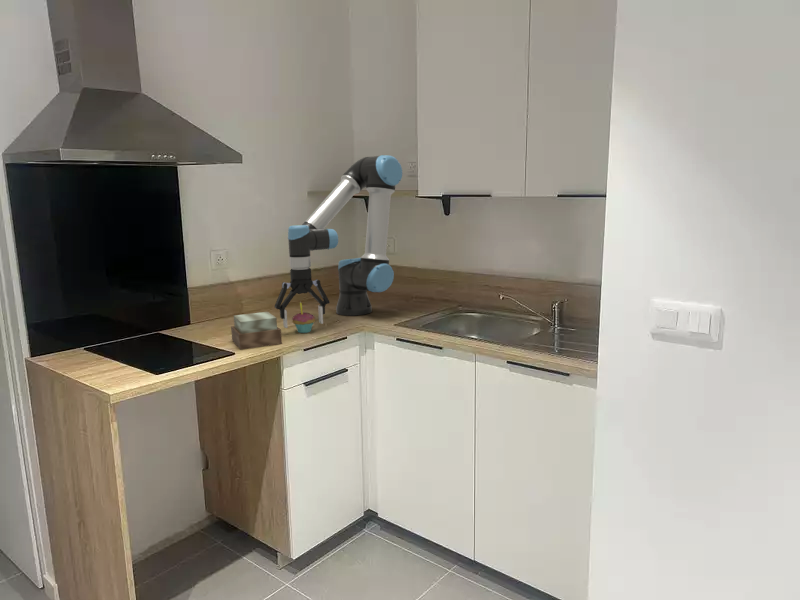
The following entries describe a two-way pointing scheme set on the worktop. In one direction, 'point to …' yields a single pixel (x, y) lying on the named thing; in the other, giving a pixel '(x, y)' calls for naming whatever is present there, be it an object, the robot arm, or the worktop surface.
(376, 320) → the worktop surface
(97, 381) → the worktop surface
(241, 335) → the block tower
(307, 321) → the cupcake
